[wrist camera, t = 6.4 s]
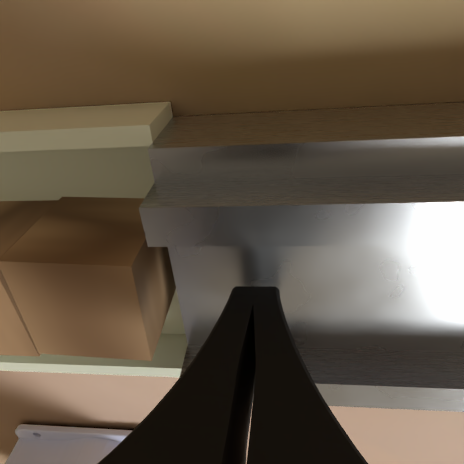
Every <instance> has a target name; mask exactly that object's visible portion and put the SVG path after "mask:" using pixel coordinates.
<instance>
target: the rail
mask: <svg viewBox="0 0 464 464" xmlns="http://www.w3.org/2000/svg"><path fill="white" fill-rule="evenodd" d="M148 153H149V158H150V163H151V168H152V172H153V177H154V184H153V186H152V187H151V189H150V190H149V192H148V194H147V195H146V197H145V199H144V200H143V202H142V203H141V205H140V207H139V212H140V216H141V220H142V224H143V229H144V233H145V237H146V241H147V245H148V247H168V251H169V256H170V260H171V265H172V270H173V275H174V280H175V285H176V290H177V295H178V300H179V304H180V309H181V314H182V319H183V324H184V329H185V334H186V339H187V344H188V345H187V349H186V353H185V357H184V361H183V365H182V369H181V373H180V377H181V376H182V374H183V373H184V372H185V370H186V369H187V368H188V366H189V365H190V363H191V362H192V361H193V359H194V358H195V356H196V355H197V353H198V352H199V350H200V349H201V347H202V346H203V344H204V343H205V341H206V339H207V338H208V336H209V334H210V333H211V331H212V329H213V328H214V326H215V324H216V322H217V321H218V319H219V317H220V315H221V313H222V311H223V309H224V307H225V305H226V303H227V301H228V299H229V296H230V294H231V291H232V289H233V288H234V287H236V286H276V287H277V288H278V289H279V291H280V299H281V304H282V308H283V311H284V315H285V318H286V321H287V324H288V326H289V329H290V332H291V334H292V337H293V339H294V342H295V344H296V346H297V349H298V351H299V353H300V355H301V357H302V359H303V361H304V363H305V366H306V368H307V370H308V371H309V373H310V375H311V377H312V379H313V381H314V383H315V385H316V386H317V388H318V390H319V392H320V393H321V395H322V397H323V398H324V400H325V402H326V403H327V405H328V406H345V407H367V408H389V409H412V410H434V411H456V412H464V102H457V103H437V104H417V105H397V106H377V107H357V108H337V109H317V110H297V111H277V112H257V113H238V114H218V115H198V116H178V117H172V119H171V120H170V121H169V122H168V124H167V125H166V126H165V127H164V129H163V130H162V131H161V133H160V134H159V135H158V136H157V138H156V139H155V140H154V141H153V143H152V144H151V145H150V147H149V148H148ZM180 377H179V378H180ZM253 396H254V394H253Z"/></svg>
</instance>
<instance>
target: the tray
mask: <svg viewBox="0 0 464 464" xmlns="http://www.w3.org/2000/svg"><path fill="white" fill-rule="evenodd" d="M172 117H173V114H172V108H171V102H154V103H136V104H118V105H99V106H81V107H63V108H45V109H27V110H9V111H0V201H42V200H59V199H60V198H61V197H104V198H145V197H146V195H147V194H148V192H149V190H150V189H151V187H152V186H153V184H154V177H153V172H152V168H151V163H150V158H149V153H148V148H149V147H150V145H151V144H152V143H153V141H154V140H155V139H156V138H157V136H158V135H159V134H160V133H161V131H162V130H163V129H164V127H165V126H166V125H167V124H168V122H169V121H170V120H171V119H172ZM187 345H188V344H187V339H186V334H185V329H184V324H183V319H182V314H181V309H180V304H179V300H178V295H177V290H175V293H174V296H173V299H172V302H171V305H170V308H169V311H168V314H167V317H166V320H165V323H164V326H163V329H162V332H161V335H160V338H159V341H158V344H157V347H156V350H155V353H154V356H153V359H152V361H145V360H129V359H114V358H98V357H83V356H68V355H52V354H41V355H40V356H39V357H38V356H11V355H0V371H23V372H50V373H76V374H102V375H129V376H155V377H180V373H181V369H182V365H183V361H184V357H185V353H186V349H187Z"/></svg>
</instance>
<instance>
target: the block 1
mask: <svg viewBox="0 0 464 464" xmlns="http://www.w3.org/2000/svg"><path fill="white" fill-rule="evenodd" d="M57 201H58V200H42V201H0V258H1V257H2V256H3V255H4V254H5V253H6V252H7V251H8V250H9V249H10V248H11V247H12V246H13V245H14V244H15V243H16V242H17V241H18V240H19V239H20V238H21V237H22V236H23V235H24V234H25V233H26V232H27V231H28V230H29V229H30V228H31V227H32V226H33V225H34V224H35V223H36V222H37V221H38V220H39V219H40V218H41V217H42V216H43V215H44V214H45V213H46V212H47V211H48V210H49V209H50V208H51V207H52V206H53V205H54V204H55V203H56V202H57ZM0 355H11V356H38V357H39V356H40V355H41V354H39V353H38V351H37V348H36V346H35V344H34V342H33V340H32V337H31V335H30V333H29V331H28V329H27V326H26V324H25V322H24V320H23V318H22V315H21V313H20V311H19V309H18V307H17V304H16V302H15V300H14V298H13V296H12V293H11V291H10V289H9V287H8V285H7V282H6V280H5V278H4V276H3V274H2V271H1V269H0Z"/></svg>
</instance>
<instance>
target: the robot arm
mask: <svg viewBox="0 0 464 464" xmlns="http://www.w3.org/2000/svg"><path fill="white" fill-rule="evenodd" d="M253 394H254V396H253ZM252 402H253V407H252ZM251 409H252V418H251V428H250V438H249V448H248V457H247V464H368V463H367V462H366V460H365V459H364V458H363V456H362V455H361V454H360V452H359V451H358V450H357V448H356V447H355V445H354V444H353V443H352V441H351V440H350V438H349V437H348V435H347V434H346V432H345V431H344V429H343V428H342V427H341V425H340V424H339V422H338V421H337V419H336V418H335V416H334V415H333V413H332V411H331V410H330V408H329V407H328V405H327V403H326V402H325V400H324V398H323V397H322V395H321V393H320V392H319V390H318V388H317V386H316V385H315V383H314V381H313V379H312V377H311V375H310V373H309V371H308V370H307V368H306V366H305V363H304V361H303V359H302V357H301V355H300V353H299V351H298V349H297V346H296V344H295V342H294V339H293V337H292V334H291V332H290V329H289V326H288V324H287V321H286V318H285V315H284V311H283V308H282V304H281V299H280V291H279V289H278V288H277V287H276V286H236V287H234V288H233V289H232V291H231V294H230V296H229V299H228V301H227V303H226V305H225V307H224V309H223V311H222V313H221V315H220V317H219V319H218V321H217V322H216V324H215V326H214V328H213V329H212V331H211V333H210V334H209V336H208V338H207V339H206V341H205V343H204V344H203V346H202V347H201V349H200V350H199V352H198V353H197V355H196V356H195V358H194V359H193V361H192V362H191V363H190V365H189V366H188V368H187V369H186V370H185V372H184V373H183V374H182V376H181V377H180V378H179V379H178V381H177V382H176V383H175V385H174V386H173V387H172V388H171V389H170V391H169V392H168V393H167V394H166V395H165V396H164V398H163V399H162V400H161V401H160V402H159V403H158V405H157V406H156V407H155V408H154V409H153V410H152V411H151V412H150V413H149V415H148V416H147V417H146V418H145V419H144V420H143V421H142V422H141V423H140V424H139V425H138V426H137V427H136V428H135V429H134V430H117V429H100V428H82V427H64V426H47V425H29V424H20V425H18V427H17V428H16V430H15V433H16V435H17V436H18V438H19V439H18V441H17V443H16V445H15V446H14V448H13V450H12V452H11V454H10V455H9V457H8V459H7V461H6V462H5V464H246V449H247V439H248V431H249V424H250V416H251Z"/></svg>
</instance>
